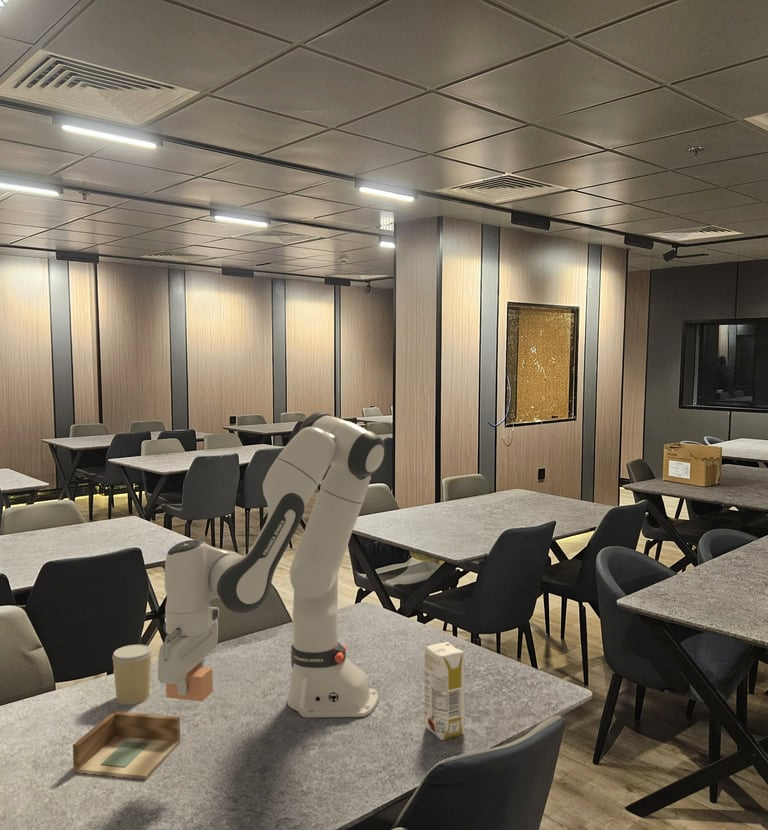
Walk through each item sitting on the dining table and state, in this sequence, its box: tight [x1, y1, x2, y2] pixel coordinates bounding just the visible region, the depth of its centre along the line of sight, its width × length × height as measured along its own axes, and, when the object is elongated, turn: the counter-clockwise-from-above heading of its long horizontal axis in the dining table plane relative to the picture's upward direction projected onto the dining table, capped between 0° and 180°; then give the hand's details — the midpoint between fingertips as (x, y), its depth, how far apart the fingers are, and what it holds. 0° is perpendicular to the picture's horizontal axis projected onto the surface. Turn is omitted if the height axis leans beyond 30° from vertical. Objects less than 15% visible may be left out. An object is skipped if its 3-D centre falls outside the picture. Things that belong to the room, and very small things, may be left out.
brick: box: [165, 666, 214, 702], centre depth 149 cm, size 8×4×5 cm, turn 76°
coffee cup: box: [111, 644, 153, 705], centre depth 182 cm, size 9×9×12 cm
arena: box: [72, 710, 181, 781], centre depth 153 cm, size 16×15×6 cm
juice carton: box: [424, 641, 466, 741], centre depth 164 cm, size 8×9×19 cm
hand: (190, 686), depth 149 cm, fingers closed on brick, 5 cm apart
